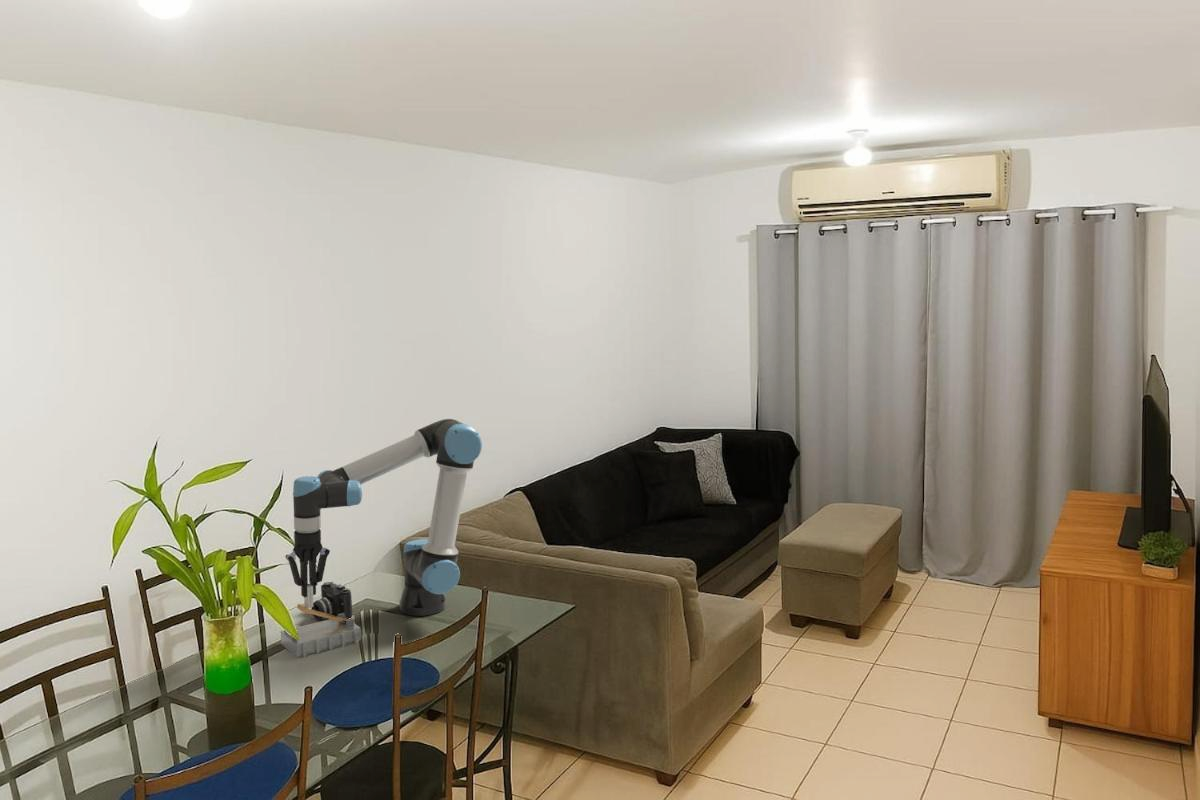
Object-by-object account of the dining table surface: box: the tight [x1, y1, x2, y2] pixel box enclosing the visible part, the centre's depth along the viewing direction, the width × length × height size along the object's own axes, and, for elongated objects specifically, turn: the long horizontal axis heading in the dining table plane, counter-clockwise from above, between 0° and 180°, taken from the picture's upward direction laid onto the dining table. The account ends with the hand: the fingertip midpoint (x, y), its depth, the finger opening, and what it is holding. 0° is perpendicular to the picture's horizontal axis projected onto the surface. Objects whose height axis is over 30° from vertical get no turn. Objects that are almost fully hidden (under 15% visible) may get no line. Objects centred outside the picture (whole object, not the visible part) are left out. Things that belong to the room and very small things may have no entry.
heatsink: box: [280, 613, 362, 658], centre depth 281 cm, size 20×14×6 cm
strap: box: [296, 603, 348, 623], centre depth 281 cm, size 17×5×1 cm, turn 133°
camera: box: [310, 581, 353, 621], centre depth 301 cm, size 14×11×10 cm
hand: (308, 606), depth 277 cm, fingers closed
